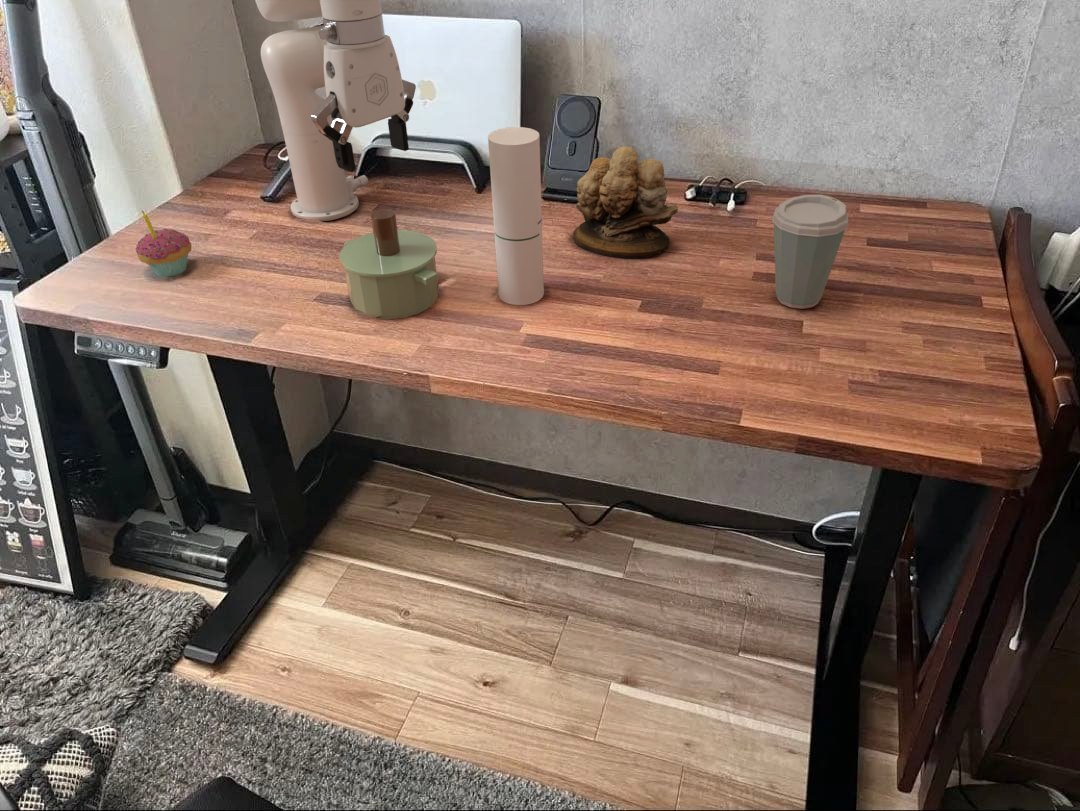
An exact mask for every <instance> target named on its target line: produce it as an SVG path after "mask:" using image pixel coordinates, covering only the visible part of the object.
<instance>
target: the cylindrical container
mask: <svg viewBox="0 0 1080 811" xmlns="http://www.w3.org/2000/svg"><path fill="white" fill-rule="evenodd" d="M487 142H488V157H489V171H490V172H489V174H490V187H491V189H490V190H491V202H492V217H493V232H494V246H495V248H494V249H495V262H496V280H497V292H498V293H497V294H498V298H499V300H501V301H502V302H504V303H506V304H508V305H513V306H527V305H531V304H534V303H535V304H536V302H539V301H540V300H541V299H542V298H544V295H545V279H544V251H543V250H544V249H543V248H544V247H543V246H544V245H543V218H542V217H543V216H542V214H543V212H542V211H543V210H542V180H541V179H542V178H541V176H542V175H541V146H540V142H541V141H540V132H538V130H536V129H533V128H529V127H523V126H510V127H509V126H508V127H502V128H499V129H496V130H493V131H491V132H490V133H489V134H488V135H487Z"/></svg>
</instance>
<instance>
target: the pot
mask: <svg viewBox="0 0 1080 811" xmlns="http://www.w3.org/2000/svg"><path fill="white" fill-rule="evenodd" d="M356 238H357V237H355V238H352V239H350V240H347V241H345V242H343V248H344V247H345V245H347V244H348V243H349V242H351V241H352V240H354V239H356ZM343 270H344V276H345V282H346V287H347V291H348V297H349V301H350V303H351V304H352V307H354V309H356V310H357V311H360V312H361V313H364V314H366V315H371V316H375V319H376V320H377V319H378V320H396V319H398V320H399V319H402V318H403V319H404V318H407V317H412V316H415V315H418V314H420V313H422V312H424V311H426V310H428V309H430V307H432V306H433V305H434V304H435V303H436V301H437V300H438V297H439V282H438V280H439V273H438V271H437V264H436V256H435V257H434V259H433V260H432V261H431V262H430V263H428V264H427V265H425V266H424V267H422V268H420V269H417V270H415V271H412V272H409V273H406V274H401V275H396V276H388V277H370V276H363V275H359V274H355V273H353V272H350V271H349V270H347V269H346V268H344V267H343Z"/></svg>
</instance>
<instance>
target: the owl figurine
mask: <svg viewBox="0 0 1080 811" xmlns="http://www.w3.org/2000/svg"><path fill="white" fill-rule="evenodd" d="M588 168H589V169H588V170H587V171H586V173H585V174H584V175H582V176H581V177H580V178H579V179H578V181H577V183H576V184H577V188H576V192H577V194H576V196H577V203H576V204H575V206H576V209H577V211H579V213H581V214H582V217H583V219H584V221H583V222H582V223H580V225H579V226H578V227H576V228H575V229H574V231H573V234H572V239H573V242H574V243H575V245H576V246H578V247H579V248H581V249H583V250H586V251H588V252H591V253H594V254H598V255H603V256H608V257H614V258H621V259H622V258H623V259H624V258H625V259H640V258H648V257H653V256H656V255H659V254H660V253H664V252H665V250H666V249H667V248H668V247H669V245H670V243H671V240H670V237H669V236H668V235H667V234H666V233H665V232H664V231H663V230H662V229H661V228H659V227H658V225H666V224H668V223H669V222H670V221H671V220H672V216H673V215H676V214H677V212H678V211H679V207H678V205H676V204H675V205H674V204H673V205H669V206H668V205H667V204H666V202H667V199H668V198H667V197H668V196H667V194H668V189H667V187H666V182H665V168H664V164H663V163H662V161H660V160H658V159H655V158H647V159H643V160H641V161H640V162H639V156H638V152H637V151H636V150H635V149H634V148H633V146H628V145H623V146H619V147H617V149H615V151H613V153H612V156H611V158H608V157H605V156H600V157H597V158H595V159H593V161H592V162H591V164H590V166H589V167H588ZM656 225H657V226H656Z"/></svg>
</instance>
